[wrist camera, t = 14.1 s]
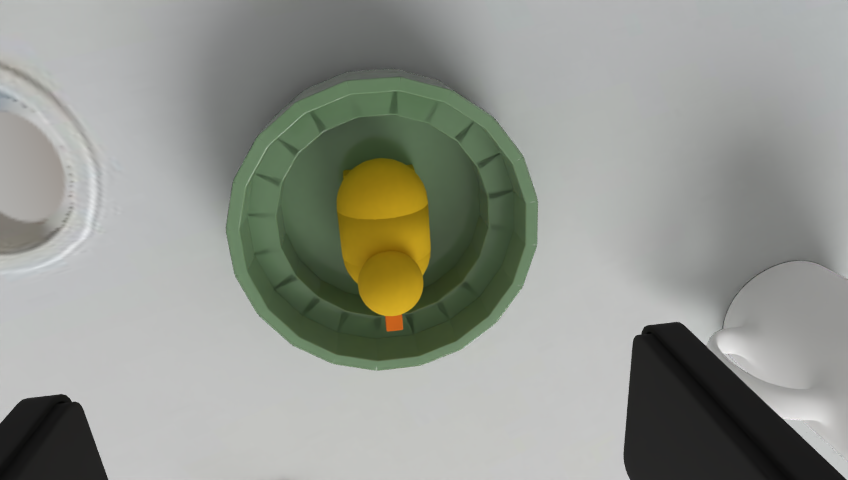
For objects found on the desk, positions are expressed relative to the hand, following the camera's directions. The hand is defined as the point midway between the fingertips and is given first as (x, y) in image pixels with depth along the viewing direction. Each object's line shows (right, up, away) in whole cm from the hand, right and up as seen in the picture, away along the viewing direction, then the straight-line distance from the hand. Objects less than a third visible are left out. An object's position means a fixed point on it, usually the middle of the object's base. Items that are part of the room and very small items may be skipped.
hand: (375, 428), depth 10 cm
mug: (+22, -2, +27) cm, 35 cm away
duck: (-1, +5, +21) cm, 21 cm away
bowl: (-1, +5, +21) cm, 22 cm away
